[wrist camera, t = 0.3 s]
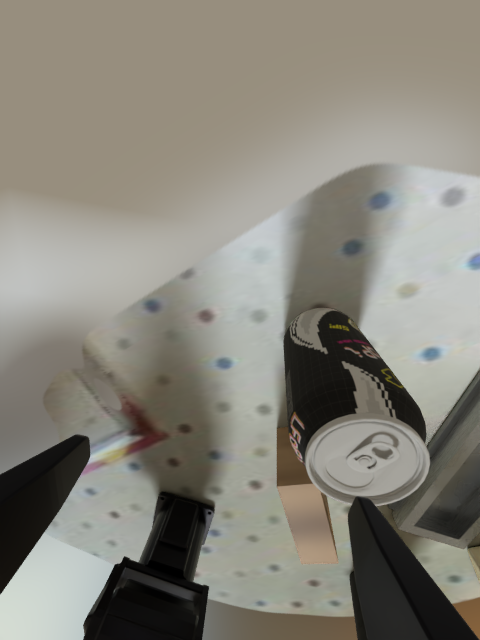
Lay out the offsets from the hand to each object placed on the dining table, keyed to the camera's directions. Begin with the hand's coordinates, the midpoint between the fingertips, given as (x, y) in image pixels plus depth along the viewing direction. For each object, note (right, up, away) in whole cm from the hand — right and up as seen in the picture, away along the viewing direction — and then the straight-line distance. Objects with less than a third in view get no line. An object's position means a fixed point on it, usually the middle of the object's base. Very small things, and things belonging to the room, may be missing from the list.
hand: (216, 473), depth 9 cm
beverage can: (+7, +4, +13) cm, 15 cm away
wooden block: (+7, -9, +17) cm, 21 cm away
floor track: (+21, -7, +15) cm, 26 cm away
